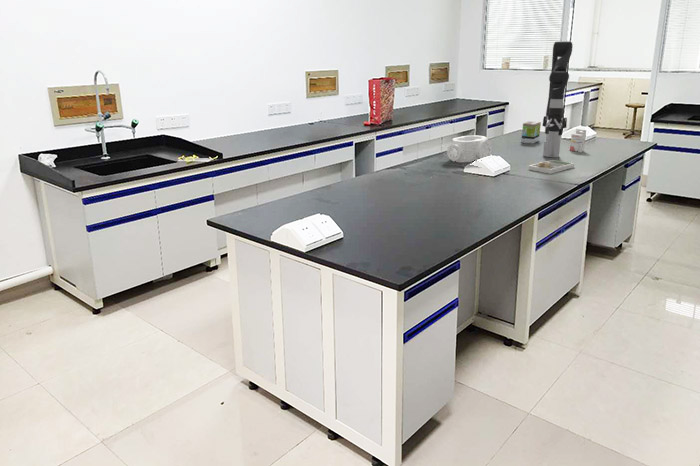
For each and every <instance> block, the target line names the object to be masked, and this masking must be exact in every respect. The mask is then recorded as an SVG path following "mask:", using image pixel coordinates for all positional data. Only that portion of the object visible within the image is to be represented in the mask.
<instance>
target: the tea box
mask: <svg viewBox="0 0 700 466" xmlns="http://www.w3.org/2000/svg"><path fill="white" fill-rule="evenodd" d="M541 126H542V123H541V122H540V121H526V122H523V124H522V132H521V138H520V139H521V140H520V143H521V144H522V143H524V144H535V143H536V142H537V143H538V142H539V140H540V134H541Z"/></svg>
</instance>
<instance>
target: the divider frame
mask: <svg viewBox="0 0 700 466" xmlns="http://www.w3.org/2000/svg"><path fill="white" fill-rule="evenodd" d="M545 162H550V163H551V164H550V169H547V168H542V167H538V163H534V164H530V165H528V170H529V171H533V172H534V171H535V172H538V171H539V173H545V174H549V175H550V174H555V173H558V172H562V171H565V170H569V169H573V168H575V165H576V164H575V163H574V162H569V161H563V160H555V159H550V160H547V161H545Z"/></svg>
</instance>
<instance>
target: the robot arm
mask: <svg viewBox="0 0 700 466" xmlns="http://www.w3.org/2000/svg"><path fill="white" fill-rule="evenodd" d="M572 52H573V42H572V41H570V40H569V41H568V40H564V41H562V40H557V41H554V43H553V47H552V57H551V59H552V60H551V61H552V62H551V72H550V74H549V77H548V80H549V88H548V89H549V90H548V98H547V99H548V100H547V105H546V110H545V111H546V112H545V116H543V119H542V120H543V121H542V127H544V129H545V130H544V133H545V134H546V136H545V141H544V144H543V153H542V155H543V157H546V158H558V157H559V156H560V149H561V139H562V138H561V137H562V135H563V133H564V132H563V130H564V129H566V128H567V126H568V125H567V124H568V118H567V117H564V114H565V108H564V98H565V96H564V95H565V91H566V90H565V89H566V87H567V84H568V82H569V79H570V74H569V72H568V71H567V69H568V64H569V62H570V59H571V56H572Z"/></svg>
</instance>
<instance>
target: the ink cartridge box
mask: <svg viewBox="0 0 700 466" xmlns="http://www.w3.org/2000/svg"><path fill="white" fill-rule="evenodd" d="M586 137H587V130H586V129H579V128H576V129H575V133H571V138H570V145H569V151H571V152H572V151H573V152H577V151H578V153H581V152H585V145H586V139H587V138H586Z"/></svg>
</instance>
